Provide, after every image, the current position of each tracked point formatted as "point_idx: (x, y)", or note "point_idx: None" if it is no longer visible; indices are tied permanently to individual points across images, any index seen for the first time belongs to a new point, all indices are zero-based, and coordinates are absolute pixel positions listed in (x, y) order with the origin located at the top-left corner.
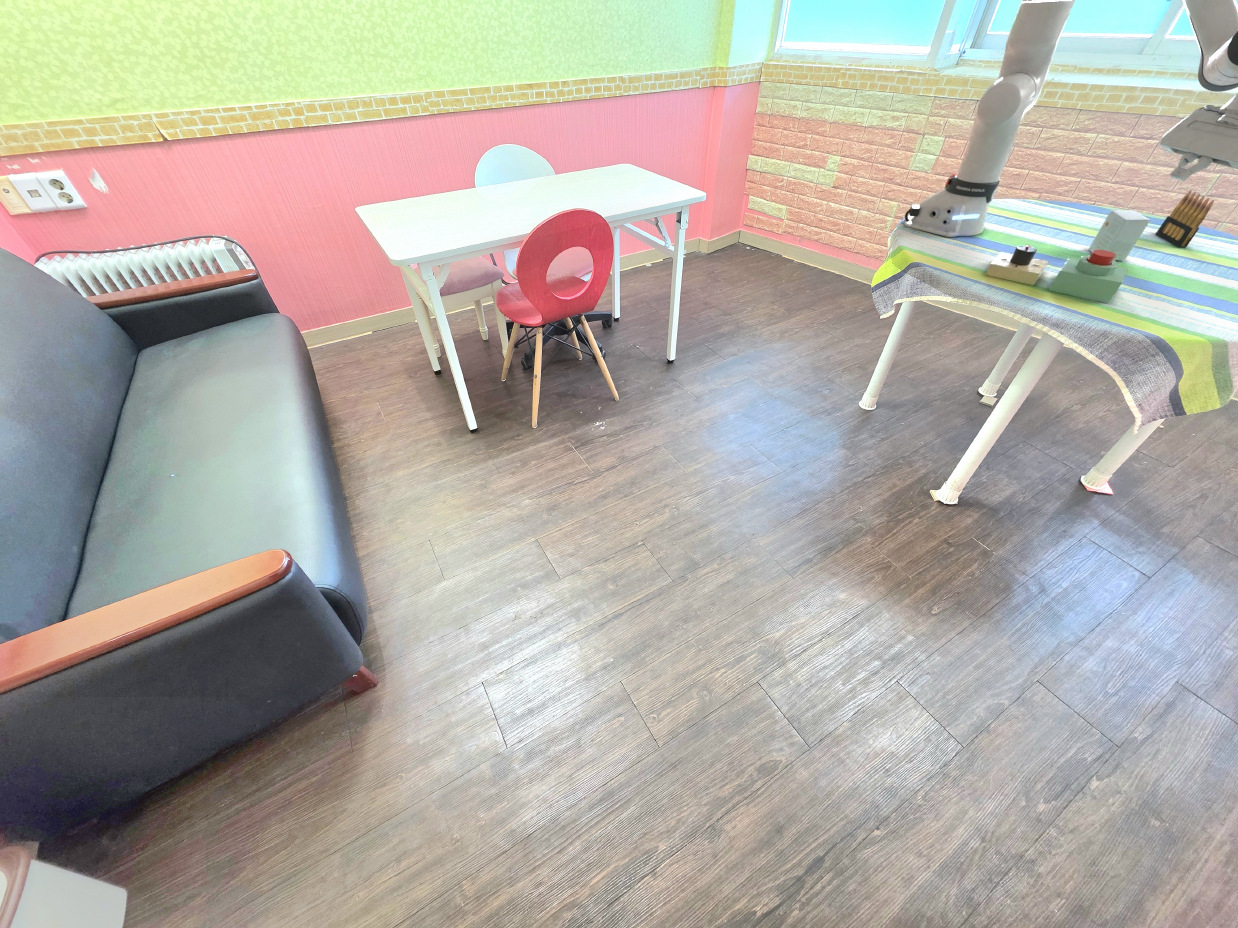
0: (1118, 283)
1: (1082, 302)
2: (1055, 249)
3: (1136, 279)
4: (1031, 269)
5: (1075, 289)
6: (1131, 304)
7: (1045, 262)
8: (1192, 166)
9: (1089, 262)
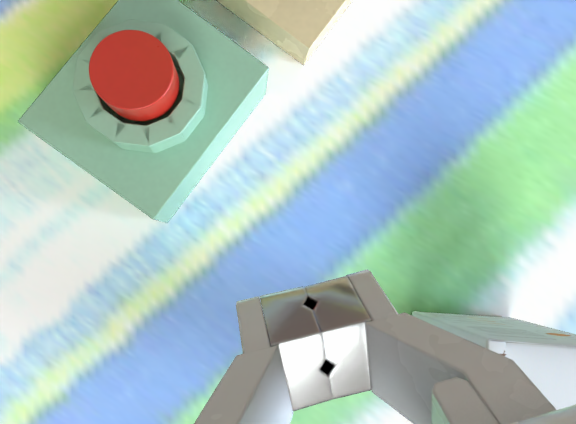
0: (23, 115)
1: None
2: (513, 211)
3: None
4: None
5: None
6: (45, 208)
7: (296, 30)
8: (250, 376)
9: None
